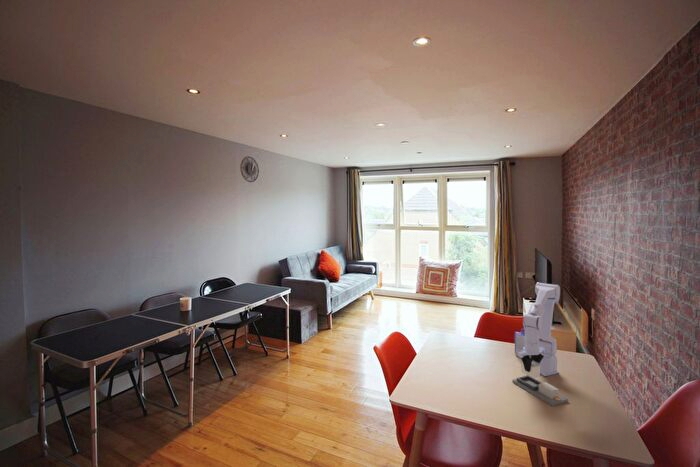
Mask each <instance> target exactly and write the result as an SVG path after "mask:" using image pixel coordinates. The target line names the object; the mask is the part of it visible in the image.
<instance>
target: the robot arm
mask: <svg viewBox="0 0 700 467" xmlns="http://www.w3.org/2000/svg"><path fill="white" fill-rule="evenodd" d="M534 292H535V295H536V299H535V302H533V303H531V305H530V307H529V310H528V312H527V314H524V315H523V317H522V318H523V320H522V325H523V329H524V330H523V331H525V347H523V350H521V351H520V352H518V356H517V357H518V358H520V359H521V362H522V361H523V364H524V368H525V370H526V371H527V372H530V370H531V363H532V361H533V360H534V361H536V362H538V363H540V375H542V376H544V377H548V376H552V375H556V374H559V371H558V359H557V356H556V354H557V350H558V347H557V346H558V345H557V340H556V339H555V338H554V337H553V335H552V325H553V319H554V318H553V316H554V308H555V307H554V306H555V303H559V301H560V298H561V297H560V296H561V287H560V285H559V284H552V283H543V282H536V284H535V286H534ZM529 355H531V357H529Z"/></svg>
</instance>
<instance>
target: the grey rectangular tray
mask: <svg viewBox="0 0 700 467" xmlns="http://www.w3.org/2000/svg"><path fill="white" fill-rule="evenodd" d="M512 383H513V384H515V385H516V386H518V387H520V388H522V389H523V390H525V391H527V392H528V393H530V394H531V395H533V396H535V397H536V398H538V399H539V400H542V401H543V402H545V403H546V404H548V405H550V406H552V407H555V406H558V405H561V404H565V403H568V402H569V398H568V397H566V396H564V395H563V394H560V393H559V388H557V387H555V386H554V385H551V384H550V383H548V382H546V381H543V382H542V381H540V380H538V379H536V378H532V377H530V376H528V375H524V376H519V377H517V378H513V379H512Z"/></svg>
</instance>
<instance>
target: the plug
mask: <svg viewBox="0 0 700 467" xmlns="http://www.w3.org/2000/svg"><path fill="white" fill-rule="evenodd" d="M521 373H523V374H525V376H527V375H528V376H530V377H532V378H534V379H536V378H539V377H541V374H540V363H538V362H536V361H534V360H533V361H532V363H531V370H530V372H527V371H526V370H525V368H524V364H523V361H522V360H521Z"/></svg>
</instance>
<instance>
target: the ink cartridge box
mask: <svg viewBox="0 0 700 467" xmlns="http://www.w3.org/2000/svg"><path fill="white" fill-rule="evenodd" d="M523 347H525V330H524V328H520V331H514V355H515V356H517V357H518V352H520V351H521V350H523ZM529 357H530V358H531V355H529Z"/></svg>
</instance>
